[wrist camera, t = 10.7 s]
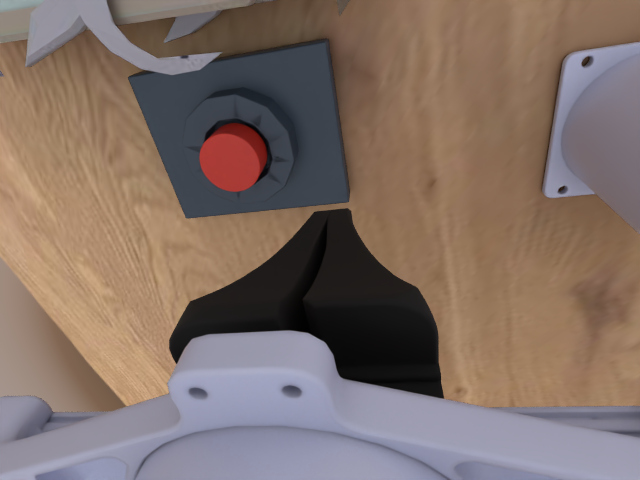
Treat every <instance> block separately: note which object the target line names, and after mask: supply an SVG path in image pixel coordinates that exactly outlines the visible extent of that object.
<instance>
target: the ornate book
mask: <svg viewBox="0 0 640 480" xmlns="http://www.w3.org/2000/svg"><path fill="white" fill-rule="evenodd" d="M268 1H275V0H0V43H5V42H12V41H18V40H25V39H28V44H27V54H26V65H25V67H31V66H33V65H34V64H36V63H37V62H39V61H40V60H42V59H43V58H45V57H46V56H48V55H49V54H51V53H52V52H54V51H55V50H57V49H58V48H60V47H61V46H63V45H64V44H65V43H67V42H68V41H70V40H71V39H73V38H74V37H76V36H77V35H79V34H80V33H82V32H83V31H85V30H91V31H92V32H93V33H94V34H95V35H96V37H97V38H98V39H99V40H100V41H101V42H102V43H103V44H104V45H105V46H106V47H107V48H108V50H109V51H111V52H113V53H114V54H116V55H118V56H120V57H121V58H123V59H125V60H126V61H128V62H130V63H132V64H133V65H135V66H137V67H139V68H140V69H144V70H149V71H154V72H159V73H164V74H169V75H175V74H180V73H186V72H191V71H196V70H200V69H201V68H203V67H204V66H205V65H207V64H208V63H209V62H211V61H212V60H213V59H214V58H216V57H217V56H218V55H220V54H221V53H222V52H217V53H207V54H196V55H186V56H176V57H166V58H156V57H154V56H153V55H151V54H149V53H148V52H146V51H144V50H143V49H141V48H139V47H137V46H136V45H134V44H132V43H131V42H130V41H129V40H128V39H127V38H126V37H125V35H124V34H123V33H122V32H121V31H120V30H119V29H118V27H117V26H118V25H124V24H131V23H138V22H144V21H151V20H158V19H164V18H171V17H176V19H175V22H174V24H173V26H172V27H171V29H170V31H169V33H168V35H167V37H166V39H165V41H164V43H166V42H169V41H172V40H175V39H177V38H180V37H183V36H185V35H188V34H191V33H194V32H196V31H197V30H198V29H200V28H201V27H203V26H204V25H205V24H207V23H208V22H210V21H211V20H212V19H214V18H215V17H217V16H218V15H219V14H220V13H221V11H222V10H224V9H230V8H237V7H244V6H250V5H253V4H255V3H262V2H268ZM348 2H349V0H337V4H338V10H339V16H340V15H341V13H342V11H343V10H344V8H345V7H346V5H347V3H348ZM0 76H4V75H3V74H2V72H1V71H0Z"/></svg>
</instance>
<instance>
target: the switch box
mask: <svg viewBox="0 0 640 480" xmlns="http://www.w3.org/2000/svg"><path fill="white" fill-rule="evenodd" d="M128 79H129V81H130V84H131V86H132V89H133V91H134V94H135V96H136V98H137V101H138V103H139V106H140V108H141V110H142V113H143V115H144V118H145V120H146V123H147V125H148V127H149V130H150V132H151V135H152V137H153V139H154V142H155V144H156V147H157V149H158V152H159V154H160V156H161V159H162V161H163V164H164V166H165V169H166V171H167V173H168V176H169V178H170V181H171V183H172V185H173V188H174V190H175V193H176V195H177V198H178V200H179V202H180V205H181V207H182V210H183V212H184V214H185V217H186V218H197V217H207V216H217V215H227V214H236V213H246V212H256V211H266V210H276V209H286V208H296V207H306V206H316V205H326V204H336V203H345V202H349V197H350V189H349V181H348V174H347V167H346V160H345V153H344V146H343V139H342V132H341V124H340V117H339V110H338V103H337V96H336V89H335V82H334V75H333V67H332V60H331V53H330V46H329V40H328V39H327V38H326V39H321V40H315V41H310V42H304V43H299V44H293V45H288V46H282V47H277V48H271V49H266V50H260V51H254V52H249V53H243V54H238V55H232V56H227V57H221V58H216V59H213V60H212V61H211V62H209V63H208V64H207V65H205V66H204V67H203V68H201V69H200V70H196V71H191V72H186V73H180V74H175V75H169V74H164V73H159V72H154V71H144V72H139V73H137V74H134V75H131V76H129V77H128ZM230 123H239V124H243V125H246V126H248V127H250V128H252V129H253V130H254V131H256V132H257V133H258V134H259V135H260V137H261V138H262V139H263V141H264V143H265V146H266V149H267V162H266V165H265V167H264V169H263V170H262V172H261V174H260V176H259V177H258V179H257V181H256V182H255V184H254V185H252V186H251V187H250V188H248V189H246V190H243V191H238V192H232V191H227V190H223V189H221V188H219V187H217V186H216V185H214V184H213V183H212V182H211V181H210V180H209V179H208V178H207V177H206V176H205V174H204V172H203V170H202V168H201V165H200V158H199V156H200V150H201V147H202V145H203V144H204V142H205V141H206V140H207V139H208V138H209V137H210V136H211V135H212V134H213V133H214V132H215V131H216V130H217V129H219V128H220V127H221V126H223V125H226V124H230Z"/></svg>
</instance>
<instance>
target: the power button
mask: <svg viewBox="0 0 640 480" xmlns="http://www.w3.org/2000/svg"><path fill="white" fill-rule="evenodd" d="M199 158H200V165H201V168H202V170H203V172H204V174H205V176H206V177H207V178H208V179H209V180H210V181H211V182H212V183H213V184H214V185H216V186H217V187H219V188H221V189H223V190H227V191H232V192H238V191H243V190H246V189H248V188H250V187H251V186H252V185H254V184H255V182H256V181H257V179H258V177H259V176H260V174H261V172H262V170H263V169H264V167H265V165H266V162H267V149H266V146H265V143H264V141H263V139H262V138H261V137H260V135H259V134H258V133H257V132H256V131H254V130H253V129H252V128H250V127H248V126H246V125H243V124H239V123H230V124H226V125H223V126H221V127H220V128H219V129H217V130H216V131H215V132H214V133H213V134H212V135H211V136H210V137H209V138H208V139H207V140H206V141H205V142H204V144H203V145H202V147H201V150H200V156H199Z"/></svg>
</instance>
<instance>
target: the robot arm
mask: <svg viewBox="0 0 640 480" xmlns="http://www.w3.org/2000/svg"><path fill="white" fill-rule="evenodd" d="M587 56H589V58H590V60H589V62H588V64H586V65H585V66H582V64H581V63H582V60H583V59H584V58H585V57H587ZM562 186H565V188H564V189H563V190H561V191H558V189H559V188H560V187H562ZM542 192H543V193H544V195H545V196H546V197H548V198H558V197H569V196H579V195H590V194H596V195H597V196H599V197H600V198H601V199H602V200H603V201H604V202H605V203H606V204H607V205H608V206H609V207H610V208H612V209H613V210H614V211H615V212H616V213H617V214H618V215H619V216H620V217H621V218H622V219H623V220H625V221H626V222H627V223H628V224H629V225H630V226H631V227H632V228H633V229H634V230H635V231H636V232H638V233H639V234H640V42H633V43H627V44H621V45H614V46H608V47H601V48H595V49H588V50H582V51H576V52H572V53H570V54H569V55H567V56H566V58H565V59H564V60H563V63H562V69H561V75H560V81H559V87H558V94H557V100H556V106H555V112H554V119H553V125H552V131H551V138H550V144H549V150H548V156H547V163H546V169H545V175H544V182H543V188H542ZM169 349H170V351H171V354H172V357H173V359H174V360H175V362H176V364H177V365H176V367H175V369H174V371H173V373H172V375H171V377H170V379H169V381H168V383H167V384H168V389H169V394H165V395H162V396H159V397H156V398H153V399H149V400H146V401H143V402H140V403H137V404H134V405H130V406H127V407H124V408H121V409H118V410H114V411H111V412H53V411H52V409H51V407H50V406H49V405H48V404H47V403H46V402H45V401H44V400H42V399H41V398H38V397H36V396H3V397H0V480H640V406H578V407H483V406H478V405H473V404H468V403H463V402H458V401H453V400H447V399H444V395H443V390H442V385H441V373H440V368H439V362H438V330H437V326H436V323H435V320H434V318H433V315H432V313H431V311H430V309H429V307H428V305H427V303H426V301H425V299H424V298H423V296H422V294H421V293H420V291H419V289H418V288H417V287H415V286H413V285H411V284H409V283H407V282H405V281H403V280H401V279H399V278H398V277H396V276H395V275H393V274H392V273H391V272H390V271H389V270H387V269H386V268H385V267H384V266H382V265H381V264H380V263H379V262H378V261H377V260H376V259H375V257H374V256H373V255H372V254H371V253H370V251H369V250H368V249H367V248H366V246H365V245H364V243H363V242H362V240H361V238H360V237H359V235H358V233H357V231H356V229H355V227H354V225H353V221H352V214H351V211H350V210H349V209H348V208H346V209H336V210H327V211H317V212H314V213H313V214H312V216H311V217H310V218H309V219H308V220H307V221H306V223H305V224H304V225H303V226H302V227H301V228H300V230H299V231H298V232H297V233H296V234H295V235H294V236H293V237H292V238H291V239H290V240H289V241H288V242H287V243H286V244H285V245H284V246H283V247H282V248H281V249H280V250H279V251H278V252H277V253H276V254H275V255H274V256H272V257H271V258H270V259H269V260H267V261H266V262H265V263H264V264H262V265H261V266H259V267H258V268H256V269H255V270H253V271H252V272H250V273H249V274H247V275H246V276H244V277H242V278H241V279H239V280H237V281H235V282H234V283H232V284H230V285H228V286H226V287H224V288H222V289H220V290H217V291H215V292H213V293H210V294H208V295H205V296H203V297H201V298H198V299H196V300H193V301H190V303H189V304H188V306H187V308H186V309H185V311H184V313H183V315H182V316H181V318H180V320H179V322H178V324H177V326H176V328H175V329H174V331H173V333H172V335H171V338H170V340H169Z"/></svg>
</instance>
